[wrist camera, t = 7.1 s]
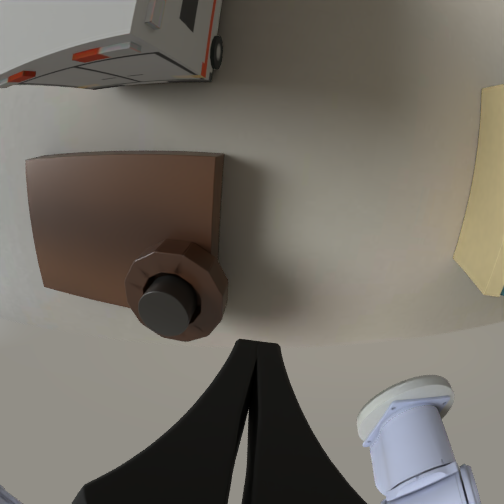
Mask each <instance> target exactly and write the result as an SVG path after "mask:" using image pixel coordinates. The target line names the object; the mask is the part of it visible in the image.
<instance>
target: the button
mask: <svg viewBox="0 0 504 504" xmlns="http://www.w3.org/2000/svg"><path fill="white" fill-rule="evenodd" d="M196 307H197V297H196V294H195V292H194V290H193V288H192V287H191V286H190V285H189V284H188V283H187V282H186V281H184V280H183V279H181V278H179V277H176V276H171V275H165V276H161V277H159V278H157V279H155V280H154V281H153V283H152V284H151V285H150V287H149V288H148V289H147V290H146V292H145V293H144V294H143V296H142V297H141V298H140V300H139V303H138V311H139V315H140V317H141V319H142V321H143V322H144V323H145V325H146V326H147V327H148V328H150V329H151V330H152V331H154V332H156V333H158V334H160V335H164V336H177V335H179V334H181V333H183V332H184V331H185V330H186V329H187V327H188V325H189V322H190V320H191V318H192V316H193V314H194V311H195V309H196Z"/></svg>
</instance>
